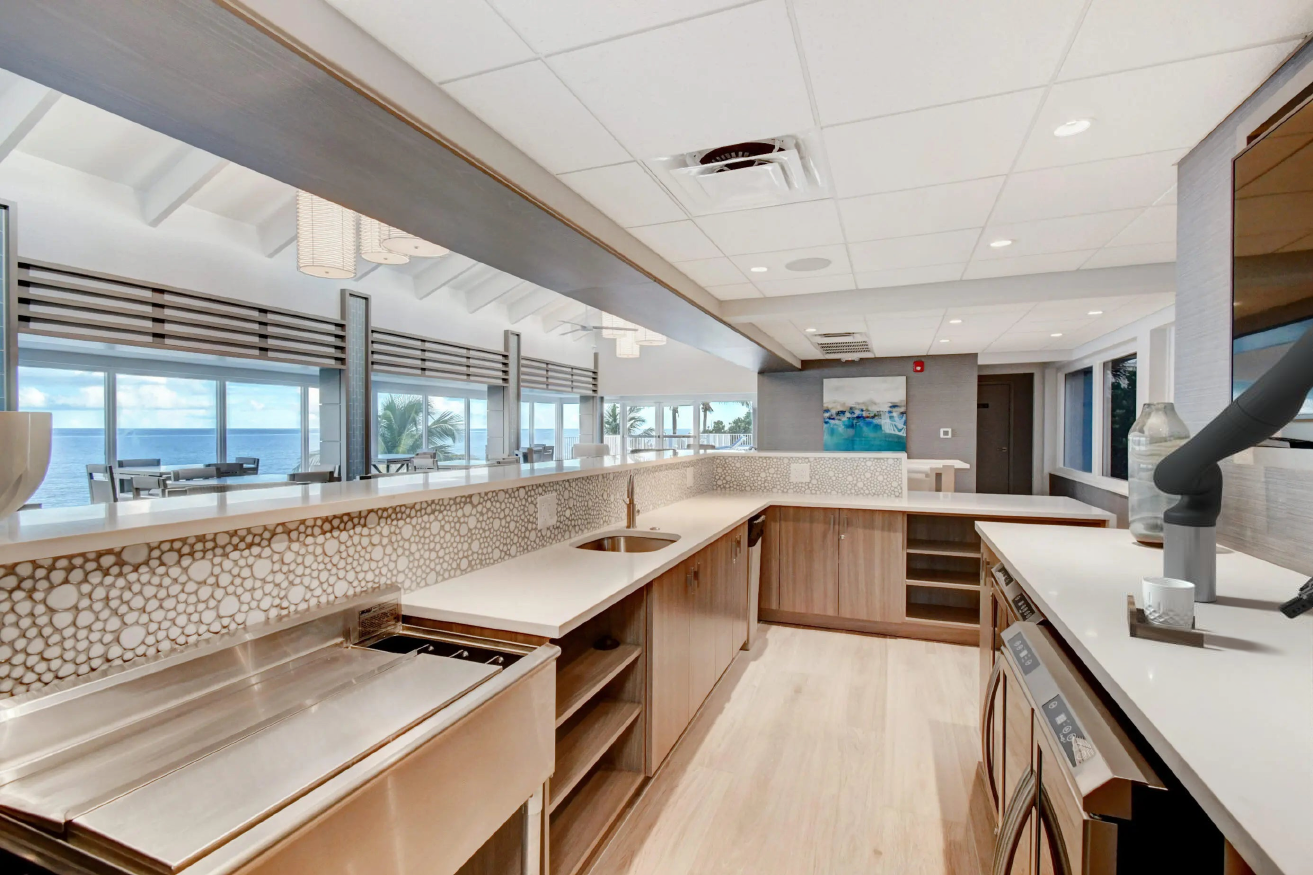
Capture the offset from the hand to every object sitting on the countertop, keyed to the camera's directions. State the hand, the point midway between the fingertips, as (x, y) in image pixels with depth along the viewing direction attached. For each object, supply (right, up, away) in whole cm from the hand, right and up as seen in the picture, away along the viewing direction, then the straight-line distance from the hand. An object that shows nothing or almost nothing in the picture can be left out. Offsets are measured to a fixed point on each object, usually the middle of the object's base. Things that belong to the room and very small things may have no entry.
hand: (1283, 613), depth 106 cm
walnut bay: (-13, -6, +9) cm, 17 cm away
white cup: (-13, -7, +9) cm, 17 cm away
